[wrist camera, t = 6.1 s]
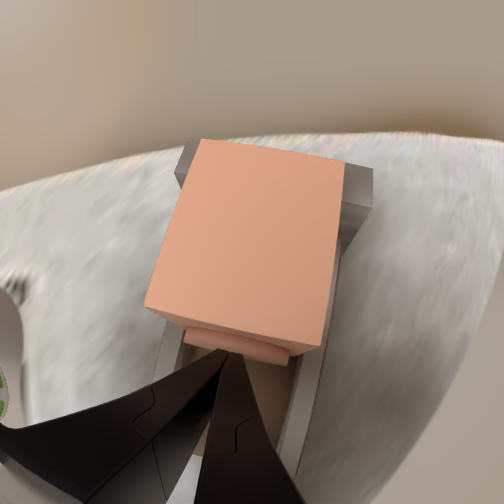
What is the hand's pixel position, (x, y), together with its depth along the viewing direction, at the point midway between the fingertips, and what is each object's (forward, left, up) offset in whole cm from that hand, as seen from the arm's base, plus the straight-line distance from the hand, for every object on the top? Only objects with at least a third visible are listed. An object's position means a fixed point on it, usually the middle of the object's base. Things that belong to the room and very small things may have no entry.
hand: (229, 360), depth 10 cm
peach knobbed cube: (+3, +1, -5) cm, 6 cm away
